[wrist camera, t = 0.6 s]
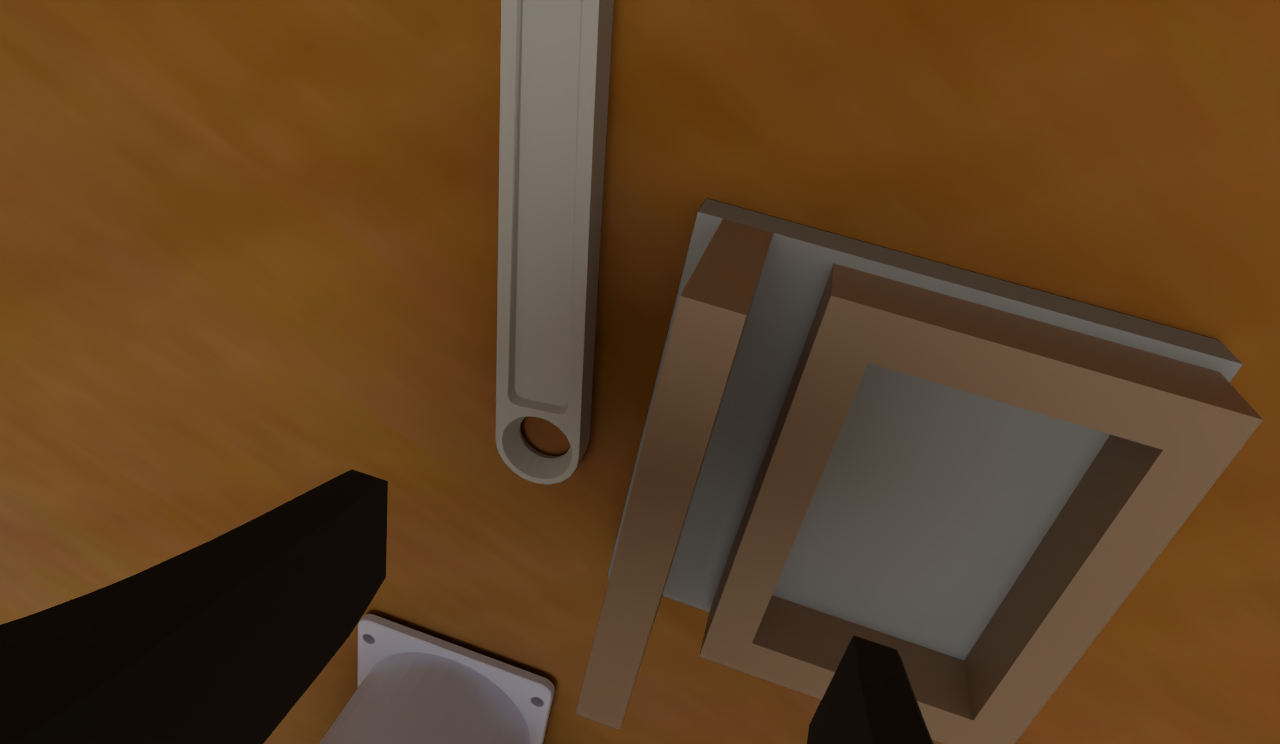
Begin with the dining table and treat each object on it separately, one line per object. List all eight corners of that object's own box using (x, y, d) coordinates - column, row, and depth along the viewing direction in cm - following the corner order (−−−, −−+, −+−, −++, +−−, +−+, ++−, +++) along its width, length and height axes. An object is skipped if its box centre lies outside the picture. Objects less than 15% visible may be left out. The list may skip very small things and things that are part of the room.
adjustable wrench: (594, 467, 24) (575, 501, 22) (410, 410, 25) (380, 439, 23) (830, -860, 11) (824, -993, 9) (430, -879, 12) (366, -1005, 10)
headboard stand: (987, 677, 23) (1025, 881, 18) (617, 551, 24) (553, 706, 19) (1219, 340, 17) (1378, 501, 12) (707, 198, 18) (647, 286, 13)
